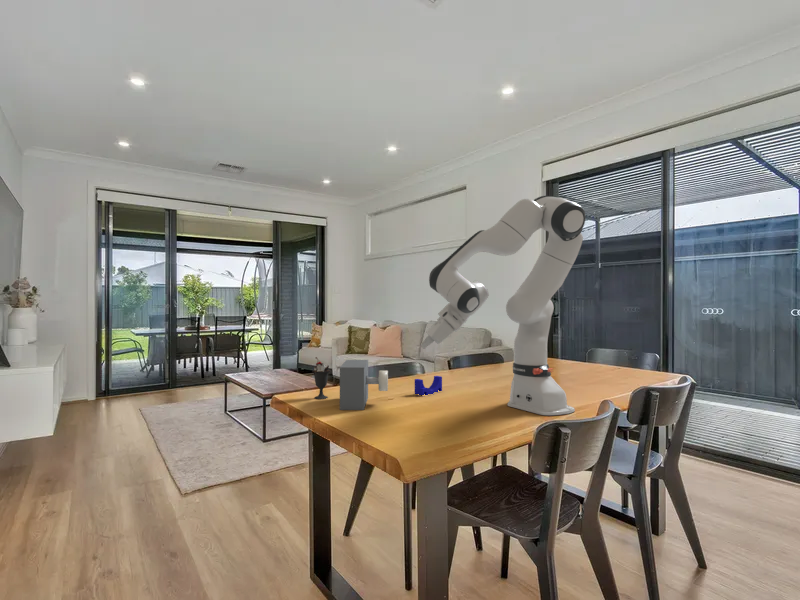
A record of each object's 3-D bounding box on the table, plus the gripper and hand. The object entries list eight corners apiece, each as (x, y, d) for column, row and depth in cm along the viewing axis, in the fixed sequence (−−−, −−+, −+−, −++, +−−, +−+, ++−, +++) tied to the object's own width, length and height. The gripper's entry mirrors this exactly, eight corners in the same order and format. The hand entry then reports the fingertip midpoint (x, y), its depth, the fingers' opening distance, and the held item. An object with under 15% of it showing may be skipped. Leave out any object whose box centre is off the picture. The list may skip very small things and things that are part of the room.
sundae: (309, 396, 160) (309, 356, 160) (327, 395, 163) (327, 355, 163) (314, 400, 154) (314, 358, 154) (332, 398, 157) (332, 357, 157)
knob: (387, 388, 154) (387, 369, 154) (387, 392, 147) (387, 372, 147) (362, 388, 154) (362, 368, 154) (361, 392, 147) (361, 372, 147)
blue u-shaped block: (422, 396, 162) (422, 380, 162) (414, 394, 165) (414, 379, 165) (444, 392, 169) (444, 377, 169) (436, 390, 173) (436, 375, 173)
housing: (368, 397, 159) (368, 359, 159) (363, 410, 141) (364, 367, 141) (346, 397, 159) (346, 359, 159) (339, 409, 141) (339, 367, 141)
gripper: (440, 311, 160) (413, 337, 160) (447, 314, 140) (417, 344, 139) (452, 323, 160) (425, 349, 160) (461, 327, 140) (431, 357, 140)
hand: (422, 347), depth 149 cm, fingers closed
